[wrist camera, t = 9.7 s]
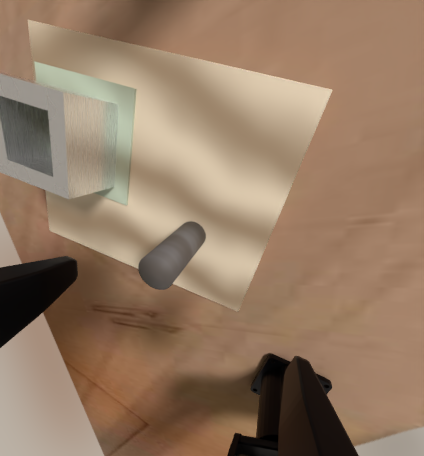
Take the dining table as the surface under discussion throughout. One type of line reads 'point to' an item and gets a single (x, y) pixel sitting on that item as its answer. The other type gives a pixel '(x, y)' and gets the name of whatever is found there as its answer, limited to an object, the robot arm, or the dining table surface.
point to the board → (181, 159)
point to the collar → (56, 137)
